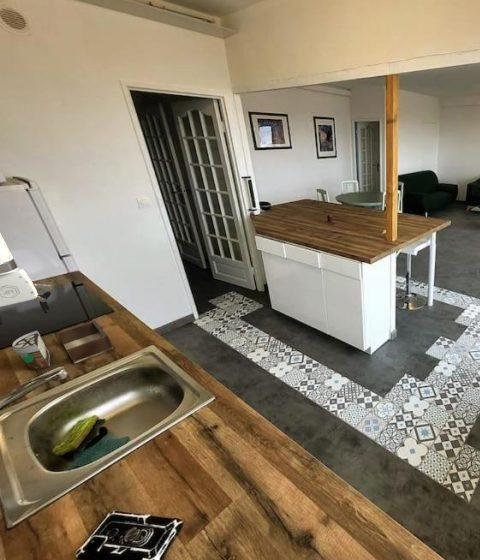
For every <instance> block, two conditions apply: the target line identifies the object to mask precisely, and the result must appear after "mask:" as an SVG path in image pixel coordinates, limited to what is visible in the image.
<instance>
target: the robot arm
mask: <svg viewBox="0 0 480 560" xmlns="http://www.w3.org/2000/svg"><path fill="white" fill-rule="evenodd" d="M53 288H54V287H53V285H52V284H45V283H36V282H33V281H32V279H31V277H30V276H29V275H28V273H27V272H26V271H25V269H24V268H23V267H22V266H18V264H17V262H16V260H15V258H14V257H13V254H12V252H11V250H10V248H9V246H8V245H7V243H6V240H5V239H4V237H3V235H2V233H1V232H0V308H5V307H7V306H12V305H17V304H22V303H25V302H30V301H33V300H35V301H39V305H40V307H41V309H42V311H43V313H44V314H49V310H50V309H51V308H50V305H49V304H48V302H47V300H48V299H49V298H50V296H51V295H52V292H53ZM38 289H41V290H45V291H44V292H43V294H41V293H38ZM3 324H4V320H3V318H2V316H1V315H0V326H2V325H3Z"/></svg>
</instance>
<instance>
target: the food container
mask: <svg viewBox="0 0 480 560" xmlns="http://www.w3.org/2000/svg"><path fill="white" fill-rule="evenodd" d="M11 347H12V352H13V353H15V354H18V355H19V356H20V357H21V359H22V360H23V362H24V363H25V364H26V366H28V368H29V369H30V370H34V371H36V370H38V371H39V370H44V369H47V368H50V366H51V364H50V363H51V354H50V352H49V350H48V348H47V346H46V344H45V342H44V340H43V338H42V336H41V334H40V332H39V331H38V330H34V331H31V332H29V333H26V334H24V335H21V336H20V337H18V338H17V339H15V340H14V341H13V343H12V346H11Z"/></svg>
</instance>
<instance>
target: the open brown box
mask: <svg viewBox="0 0 480 560" xmlns="http://www.w3.org/2000/svg"><path fill="white" fill-rule="evenodd" d="M57 336H58V337H59V339H60V341H61V343H62V345H63V347H64V349H65V350H66V352H67V354H68V355H69V357H70V359H71V361H72V362H73V364H77V363H80V362H83V361H85V360H87V359H90V358H93V357H96V356H98V355H100V354H103V353H106V352H108V351H112V350H113V349H114V347H113V345H112V342H111V340H110V338H109V335H108V334H107V333H106V332H105V331H104V329H103V328H102V327H101V326H100V324H98V322H97V321H96V320H92V321H90V322H86V323H83V324H80V325H77V326H73V327H70V328H67V329H65V330H61V331H59V332H57Z"/></svg>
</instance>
